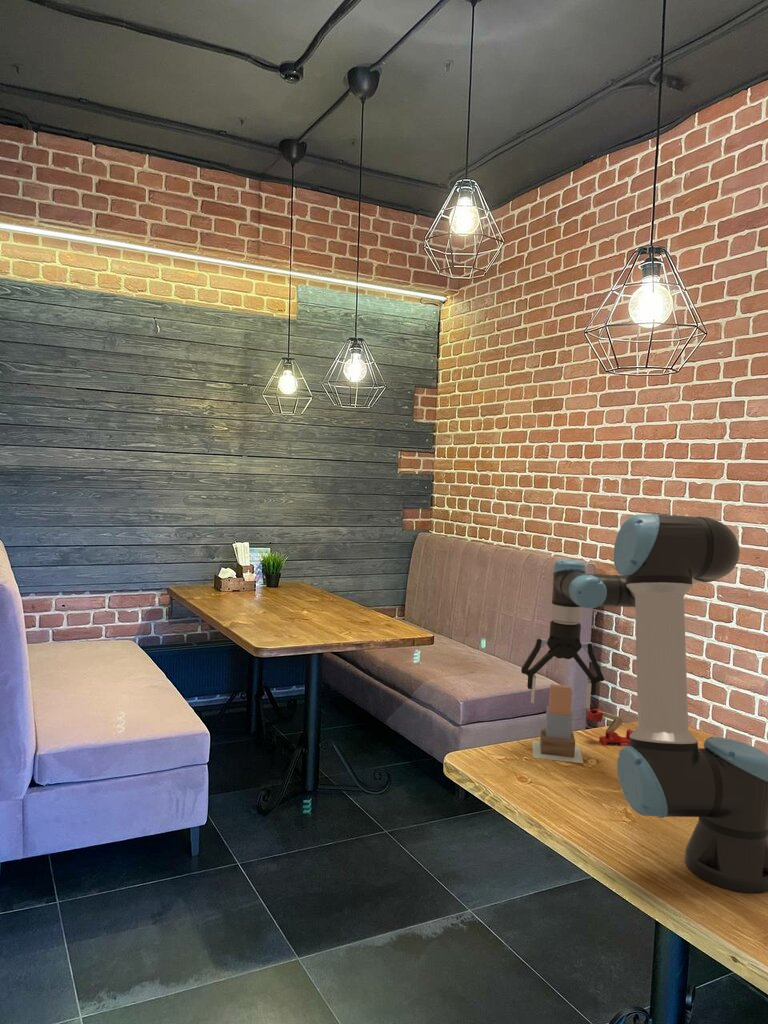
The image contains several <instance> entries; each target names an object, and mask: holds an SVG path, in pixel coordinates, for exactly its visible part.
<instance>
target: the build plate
mask: <svg viewBox="0 0 768 1024" xmlns="http://www.w3.org/2000/svg"><path fill="white" fill-rule="evenodd" d="M531 743H532V745H531V746H532V757H533V758H535V759H544V760H551V761H560V762H568V763H576V764H584V759H583V755H582V752H581V748H580V747H581V746H580V745H575V754H574V758H572V757H563V756H554V755H546V754H541V747H540V741H538V740H531Z"/></svg>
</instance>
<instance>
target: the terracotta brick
mask: <svg viewBox="0 0 768 1024" xmlns="http://www.w3.org/2000/svg"><path fill="white" fill-rule="evenodd" d="M549 686H550V687H549V701H548V706H549V712H550V713H553V714H562V715H570V712H572V697H573V696H572V695H573V694H572V693H573V691H572V686H571V685H564V684H563V685H562V684H561V685H560V684H550V685H549Z"/></svg>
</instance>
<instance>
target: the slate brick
mask: <svg viewBox="0 0 768 1024" xmlns="http://www.w3.org/2000/svg"><path fill="white" fill-rule="evenodd" d="M545 714H546V715H545V727H544V728H545V732H546V737H550V738H559V739H568V740H571V731H572V728H573V714H572V711H571V712H570V715H562V714H553V713H550V712H549V705H548V706H546V713H545Z"/></svg>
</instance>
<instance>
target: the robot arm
mask: <svg viewBox="0 0 768 1024" xmlns="http://www.w3.org/2000/svg"><path fill="white" fill-rule="evenodd" d="M740 553H741V552H740V545H739V540H738V539H737V537H736V535H735V533H734V532H733V530H731V528H730V527H728V526H727V525H726V524H724V523H723V522H721V521H719V520H716V519H714V518H710V517H705V516H687V515H686V516H685V515H674V514H673V515H672V514H661V513H660V514H657V513H649V514H648V513H646V514H633V515H631V516H629V517H627V519H625V521H623V523H622V524H621V525H620V528H619V530H618V531H617V534H616V537H615V542H614V547H613V564H614V567H615V571H616V572H617V573H618V574H600V573H599V574H597V573H586V564H585V562H584V561H582V560H577V559H568V558H567V559H564V558H562V559H557V560H556V561H555V562H554V567H553V572H552V575H553V577H552V593H551V596H552V597H551V608H550V619H551V621H550V623H549V636H548V639H544V638H542V637H540V636H539V637H536V640H535V644H534V647H533V648H532V650H531V651H530V653H529V655H528V657H527V659H526V660H525V662H524V663H523V665H522V667H521V669H520V672H521V674H523V675H526V676H527V689H528V690H530V691H531V693H530V695H531V696H530V703H531V704H535V700H536V699H535V696H536V684H537V683H536V682H537V681H536V679H537V677H536V674H537V673H538V672H539V671H540V670H541V668H543V667H544V666H545V665H546V664H547V663H548V662H549V661H550V660H552V659H553V658H554V657H555V658H557V659H565V660H571V659H573V660H575V662H576V663H577V664H578V666H579V667H580V668H581V669H582V671H583V672H584V674H586V676H587V677H588V679H587V680H586V681H587V682H586V695H585V708H586V709H587V710H591V697H592V696H595V695H596V689H597V683H598V682H604V681H605V678H604V675H603V673H602V670H601V669H600V665H599V663H598V661H597V659H596V656H595V654H594V648H593V643H592V642H591V641H587V642H581V631H582V624H581V623H580V622H582V620H583V619H582V614H583V608H585V609H596V608H598V607H610V608H611V607H614V608H615V607H618V608H619V607H622V608H634V610H635V644H636V645H635V647H636V648H635V651H636V658H635V659H636V695H637V697H636V698H637V700H636V702H637V703H636V704H637V726H636V729H634V730H633V732H632V733H631V734H630V746H624V747H622V748H621V749H620V750H619V753H618V757H617V762H616V765H617V775H618V781H619V785H620V787H621V792H622V794H623V796H624V798H625V799H626V802H627V804H628V805H629V806H630V807H631V809H632V810H633V811H635V813H637V814H639V815H641V816H645V817H646V816H647V817H658V818H660V819H664V818H670V817H672V818H674V817H675V818H681V817H682V818H695V817H696V818H698V821H697V823H696V825H695V827H694V830H693V832H692V833H691V836H690V838H689V840H688V842H687V844H686V847H685V853H684V856H685V857H684V862H685V864H686V866H687V869H689V870H690V871H691V872H692V873H694V874H695V875H696V876H697V877H699V878H701V879H702V880H703V881H706V882H708V883H711V884H712V885H715V886H717V887H720V888H723V889H726V890H727V889H728V890H731V891H735V892H740V893H748V894H749V893H751V894H753V893H766V892H768V754H767V753H766V752H764V751H763V750H761V749H759V748H757V747H755V746H752V745H751V744H747V743H746V742H742V741H739V740H736V739H731V738H726V737H719V736H710V737H707V738H705V740H704V742H703V748H699V739H698V738H697V737H696V736H695V735H693V733H691V731H690V730H689V709H688V707H689V705H688V704H689V703H688V680H687V679H688V678H687V676H688V675H687V652H686V651H687V650H686V649H687V647H686V619H685V618H686V617H685V616H686V615H685V595H686V594H687V593H688V592H689V591H690V590H691V589H692V588H693V585H694V584H696V583H698V582H699V583H712V582H716V581H717V580H719V579H721V578H723V577H724V578H725V577H726V576H727V575H729V574H730V573H731V572H732V571H733V570H734V569H735V567H736V566H737V564H738V563H739V559H740ZM545 645H547V647H548V649H549V650H547V652H546V653H545V654H544V655H543V656H542V657H541V658H540V659H539V660H538V661H537V662H536V663H535V664H534V665H533V666H532V663H533V662H534V660H535V658H536V656H537V655H538V653H540V651H541V650H540V649H543V648H544V646H545ZM581 649H583V650H584V651H585V652H586V653H587V655H588V657H589V659H590V661H591V663H592V666H593V669H594V671H595V674H596V675H594V674H593V672H592V671H591V669H589V667H588V666H587V665H586V663H585V662H584V660H583V659H582V657H581V656H580V654H579V653H578V652H579V651H580V650H581ZM530 666H532V667H531V668H530Z"/></svg>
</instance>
